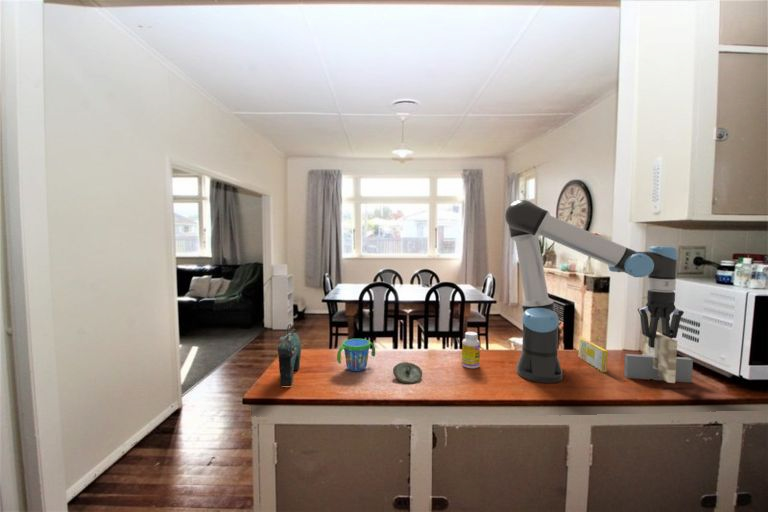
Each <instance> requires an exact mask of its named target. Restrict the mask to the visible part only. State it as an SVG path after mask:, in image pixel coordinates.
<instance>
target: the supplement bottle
mask: <svg viewBox="0 0 768 512" xmlns="http://www.w3.org/2000/svg"><path fill="white" fill-rule="evenodd" d="M461 342H462V344H461V345H462V348H461V364H462V367H464V368H467V369H478V368H479V367H480V360H481V359H480V356H481V354H480V353H481V352H480V351H481V342H480V340H478V333H477V332H475V331H466V332H465V333H464V338H463V339H462V341H461Z"/></svg>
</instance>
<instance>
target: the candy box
mask: <svg viewBox="0 0 768 512" xmlns="http://www.w3.org/2000/svg"><path fill="white" fill-rule="evenodd" d="M578 343H579V344H578V358H579V357H580V358H579V359H581V360H582V359H583V360H582V361H584V362H585V361H586V362H585V363H587V364H589V365H590V364H591V365H590V366H592V367H593V366H594V368H595V369H596V368H597V369H596V370H598V371H599V370H600V372H601V373H607V369H608V357H609V355H608V354H609V351H608V350H606V348H604V347H601V346H599V345H598V344H596V343H593V342H592V341H589V340H587V339H586V338H584V337H579V342H578Z"/></svg>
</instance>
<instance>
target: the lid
mask: <svg viewBox="0 0 768 512" xmlns="http://www.w3.org/2000/svg"><path fill="white" fill-rule="evenodd" d="M392 373H393V376H394V378H396V380H397V381H399V382H400V383H403V384H415V383H417V382H420V380H421V379H422V377H423V370H422V369H421V367H420V366H418V365H417V364H416V363H414V362H407V361H403V362H399V363H397V364H396V365H394V367H393V369H392Z"/></svg>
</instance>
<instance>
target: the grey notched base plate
mask: <svg viewBox="0 0 768 512" xmlns="http://www.w3.org/2000/svg"><path fill="white" fill-rule="evenodd" d="M693 363H694V359H692V358H691V357H681V356H676V376H675V382H682V383H692V382H693V368H694V367H693V365H694V364H693ZM623 373H624V374H623V376H624V377H625V376H626V377H627V379H636V380H637V379H639V380H650V379H653V380H654V381H665V380H664V379H662V378H661V377H659V376H658V367H653V357H652V356H650V355H642V354H634V353H633V354H632V353H630V354H629V353H625V354H624V370H623ZM626 377H625V378H626ZM653 380H652V381H653ZM665 382H666V381H665Z"/></svg>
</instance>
